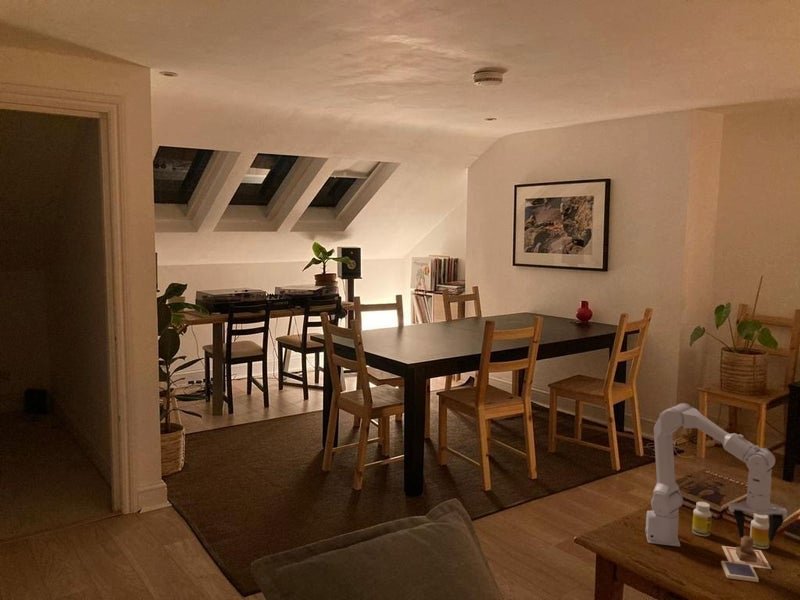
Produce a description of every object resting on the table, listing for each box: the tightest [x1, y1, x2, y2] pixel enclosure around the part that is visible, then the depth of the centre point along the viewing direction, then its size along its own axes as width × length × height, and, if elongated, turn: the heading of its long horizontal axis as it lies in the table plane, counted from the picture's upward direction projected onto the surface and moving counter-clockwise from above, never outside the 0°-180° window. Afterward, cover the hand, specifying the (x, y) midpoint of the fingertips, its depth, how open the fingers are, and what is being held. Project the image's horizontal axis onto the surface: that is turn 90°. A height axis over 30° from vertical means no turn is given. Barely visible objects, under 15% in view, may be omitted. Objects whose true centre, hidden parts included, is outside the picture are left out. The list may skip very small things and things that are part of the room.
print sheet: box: [721, 545, 772, 570], centre depth 194 cm, size 11×11×1 cm
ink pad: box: [720, 560, 760, 583], centre depth 186 cm, size 8×8×1 cm
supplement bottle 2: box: [749, 513, 771, 550], centre depth 202 cm, size 5×5×10 cm
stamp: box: [736, 535, 757, 562], centre depth 194 cm, size 4×4×6 cm
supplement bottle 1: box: [691, 501, 713, 537], centre depth 209 cm, size 5×5×10 cm
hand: (755, 537), depth 185 cm, fingers open, 7 cm apart
